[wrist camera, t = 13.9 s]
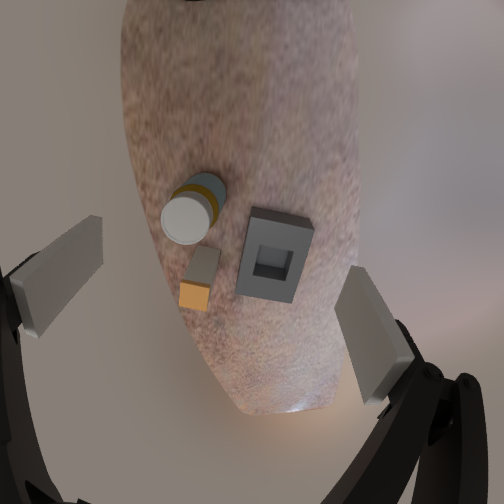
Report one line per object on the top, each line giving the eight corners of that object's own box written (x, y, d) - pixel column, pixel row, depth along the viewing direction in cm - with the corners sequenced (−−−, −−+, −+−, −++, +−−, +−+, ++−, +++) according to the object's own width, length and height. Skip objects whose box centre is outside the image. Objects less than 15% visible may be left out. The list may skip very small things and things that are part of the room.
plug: (198, 244, 52) (180, 282, 40) (220, 249, 52) (209, 288, 41) (195, 265, 54) (178, 305, 42) (217, 269, 54) (206, 311, 42)
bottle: (213, 219, 50) (196, 257, 36) (179, 198, 49) (148, 230, 35) (234, 185, 47) (223, 212, 34) (198, 164, 46) (172, 182, 32)
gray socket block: (251, 206, 49) (250, 216, 44) (309, 218, 49) (314, 230, 44) (237, 277, 55) (234, 293, 50) (289, 286, 55) (291, 303, 50)
